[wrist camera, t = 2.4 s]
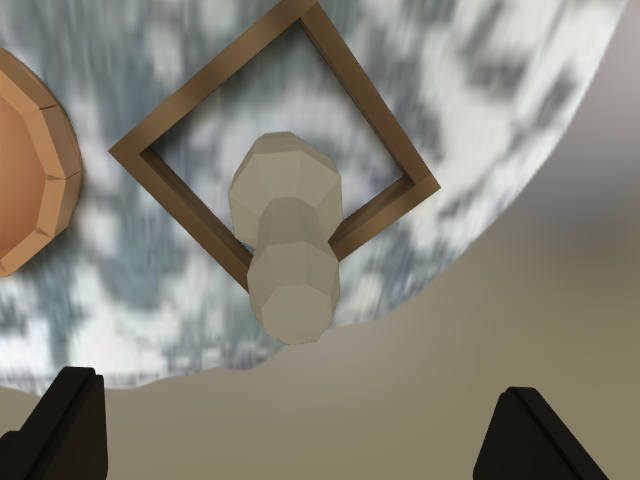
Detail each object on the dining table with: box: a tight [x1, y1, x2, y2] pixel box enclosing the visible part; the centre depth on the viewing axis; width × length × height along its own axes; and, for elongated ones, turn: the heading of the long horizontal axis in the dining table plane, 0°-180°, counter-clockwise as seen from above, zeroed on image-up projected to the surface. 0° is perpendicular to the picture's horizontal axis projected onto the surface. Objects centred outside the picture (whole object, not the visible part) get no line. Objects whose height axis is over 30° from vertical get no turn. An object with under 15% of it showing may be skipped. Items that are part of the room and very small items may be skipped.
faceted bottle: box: [228, 132, 343, 345], centre depth 24 cm, size 6×6×22 cm
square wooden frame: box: [108, 0, 441, 293], centre depth 33 cm, size 17×17×3 cm
